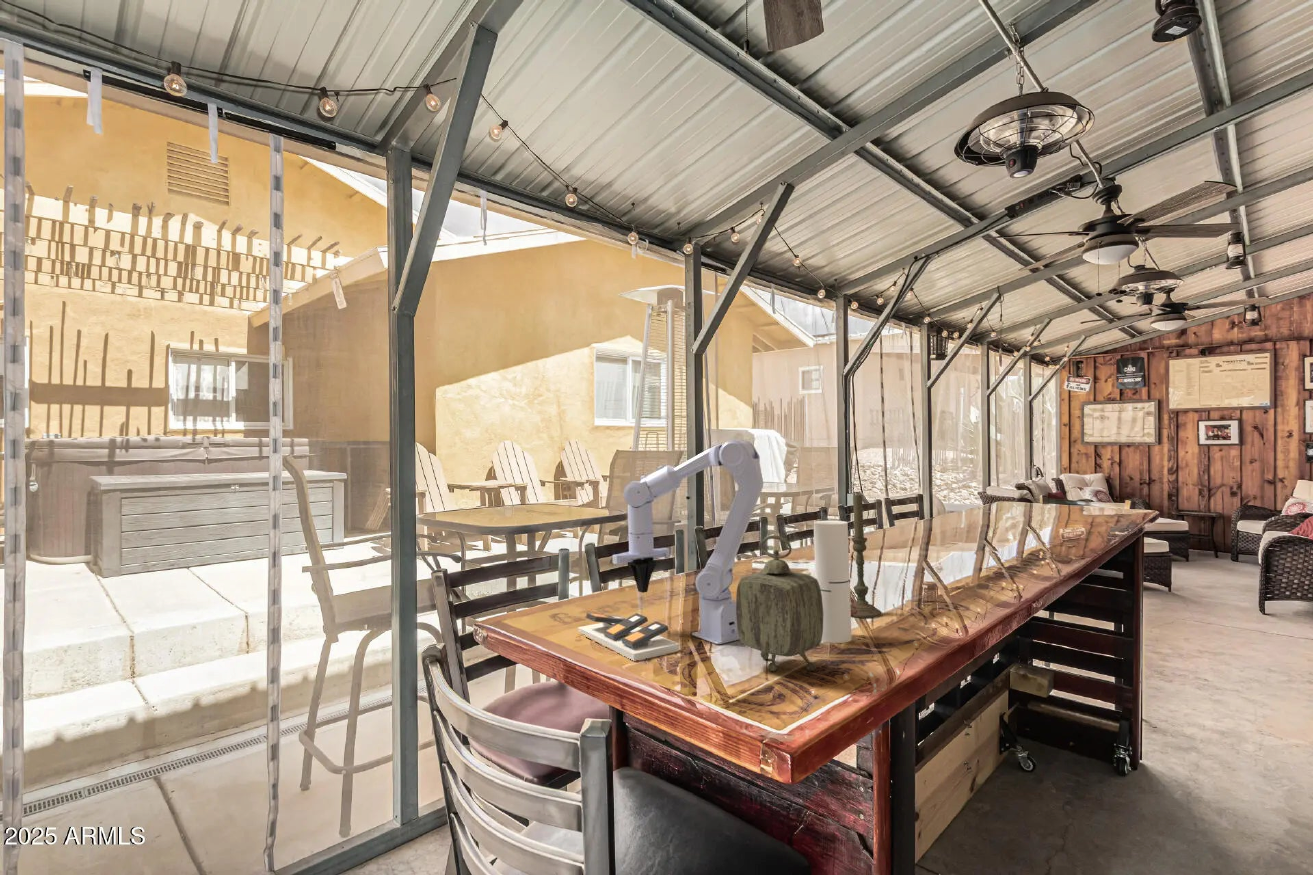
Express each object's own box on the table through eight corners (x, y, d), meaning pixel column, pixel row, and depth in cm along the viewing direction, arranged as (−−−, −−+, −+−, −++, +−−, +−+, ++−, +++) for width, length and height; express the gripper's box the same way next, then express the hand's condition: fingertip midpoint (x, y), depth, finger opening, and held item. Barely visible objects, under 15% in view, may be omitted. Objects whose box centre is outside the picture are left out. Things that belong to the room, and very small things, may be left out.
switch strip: (679, 650, 136) (679, 638, 136) (633, 661, 130) (633, 648, 130) (619, 625, 157) (619, 615, 157) (578, 633, 151) (577, 623, 151)
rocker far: (629, 624, 150) (630, 619, 151) (595, 621, 146) (596, 616, 146) (619, 620, 154) (620, 616, 154) (586, 617, 149) (587, 612, 150)
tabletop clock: (825, 671, 121) (820, 535, 122) (797, 684, 115) (792, 541, 115) (762, 654, 132) (758, 530, 132) (733, 666, 125) (729, 535, 126)
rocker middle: (648, 621, 144) (646, 616, 144) (614, 640, 139) (612, 635, 139) (637, 617, 148) (636, 612, 147) (604, 635, 143) (602, 631, 143)
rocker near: (668, 630, 137) (667, 625, 137) (633, 648, 132) (631, 643, 132) (657, 625, 141) (655, 620, 141) (622, 643, 136) (621, 638, 136)
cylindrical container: (853, 643, 137) (848, 524, 138) (818, 642, 139) (814, 524, 139) (850, 633, 144) (846, 520, 145) (816, 633, 146) (812, 520, 146)
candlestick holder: (835, 611, 164) (831, 491, 165) (866, 607, 167) (862, 490, 168) (856, 619, 156) (852, 493, 156) (889, 615, 158) (884, 491, 159)
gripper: (657, 528, 159) (658, 584, 159) (605, 534, 151) (606, 593, 151) (673, 530, 154) (675, 589, 153) (620, 537, 145) (622, 598, 145)
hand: (642, 591), depth 152 cm, fingers closed
